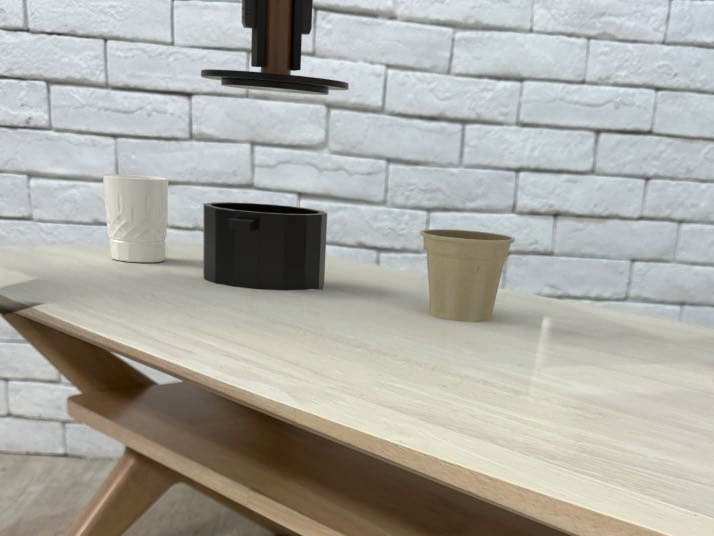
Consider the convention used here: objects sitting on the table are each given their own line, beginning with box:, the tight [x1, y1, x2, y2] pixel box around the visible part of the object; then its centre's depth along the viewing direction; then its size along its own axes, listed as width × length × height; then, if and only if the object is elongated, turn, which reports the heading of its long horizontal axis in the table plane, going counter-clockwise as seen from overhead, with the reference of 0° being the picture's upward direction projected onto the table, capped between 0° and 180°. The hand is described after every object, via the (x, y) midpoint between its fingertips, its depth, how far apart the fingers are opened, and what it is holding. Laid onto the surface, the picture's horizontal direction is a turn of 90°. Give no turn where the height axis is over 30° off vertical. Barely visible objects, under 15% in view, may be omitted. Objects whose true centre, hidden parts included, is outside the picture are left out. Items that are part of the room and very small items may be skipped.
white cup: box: [102, 173, 169, 264], centre depth 126 cm, size 8×8×10 cm
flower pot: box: [419, 228, 516, 323], centre depth 100 cm, size 9×9×9 cm
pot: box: [202, 201, 328, 291], centre depth 113 cm, size 14×19×8 cm
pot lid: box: [200, 0, 350, 96], centre depth 99 cm, size 15×15×9 cm
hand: (275, 67), depth 100 cm, fingers closed on pot lid, 3 cm apart
